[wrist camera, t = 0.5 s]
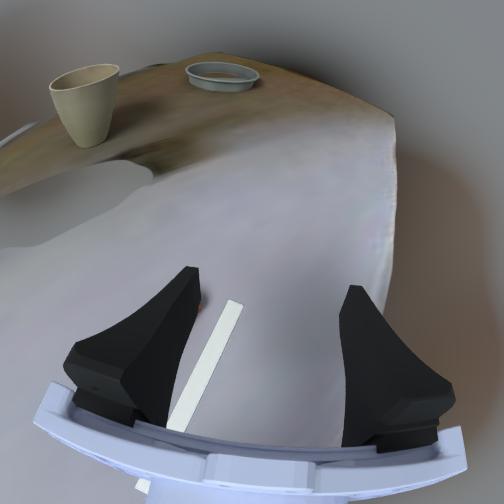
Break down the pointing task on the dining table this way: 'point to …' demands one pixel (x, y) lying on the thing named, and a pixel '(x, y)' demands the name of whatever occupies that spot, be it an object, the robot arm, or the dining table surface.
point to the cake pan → (222, 83)
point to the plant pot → (86, 102)
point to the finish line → (201, 375)
